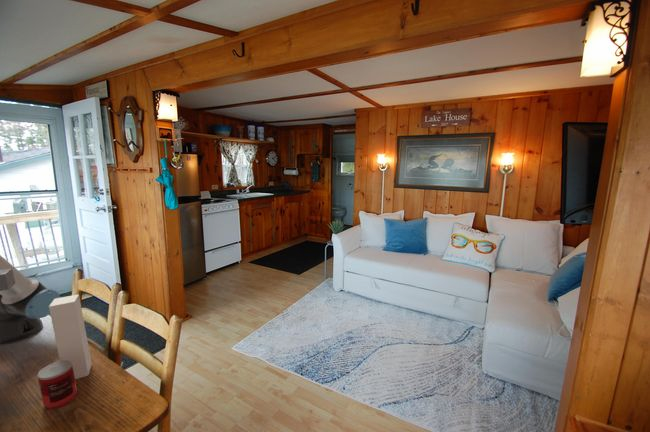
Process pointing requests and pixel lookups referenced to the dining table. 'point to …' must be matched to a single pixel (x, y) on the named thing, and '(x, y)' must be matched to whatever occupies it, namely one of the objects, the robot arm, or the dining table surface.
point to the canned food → (57, 384)
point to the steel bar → (6, 279)
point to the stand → (71, 334)
